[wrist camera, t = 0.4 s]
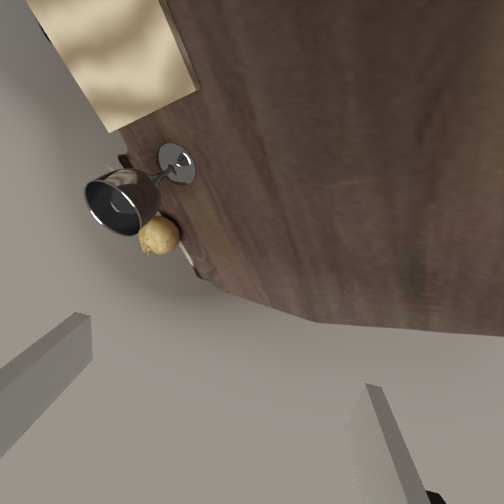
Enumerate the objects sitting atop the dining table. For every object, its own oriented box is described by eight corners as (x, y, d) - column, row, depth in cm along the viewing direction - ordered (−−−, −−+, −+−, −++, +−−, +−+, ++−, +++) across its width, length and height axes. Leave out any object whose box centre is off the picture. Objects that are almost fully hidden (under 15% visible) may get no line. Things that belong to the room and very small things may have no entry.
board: (27, -14, 33) (15, -15, 32) (115, -122, 24) (103, -129, 23) (115, 130, 42) (109, 133, 41) (201, 88, 34) (196, 90, 33)
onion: (146, 207, 51) (122, 227, 46) (180, 213, 49) (159, 234, 44) (156, 239, 57) (135, 259, 52) (188, 245, 55) (170, 268, 50)
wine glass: (171, 191, 46) (112, 239, 36) (146, 147, 42) (71, 188, 32) (205, 182, 43) (151, 233, 32) (182, 133, 39) (111, 174, 28)
